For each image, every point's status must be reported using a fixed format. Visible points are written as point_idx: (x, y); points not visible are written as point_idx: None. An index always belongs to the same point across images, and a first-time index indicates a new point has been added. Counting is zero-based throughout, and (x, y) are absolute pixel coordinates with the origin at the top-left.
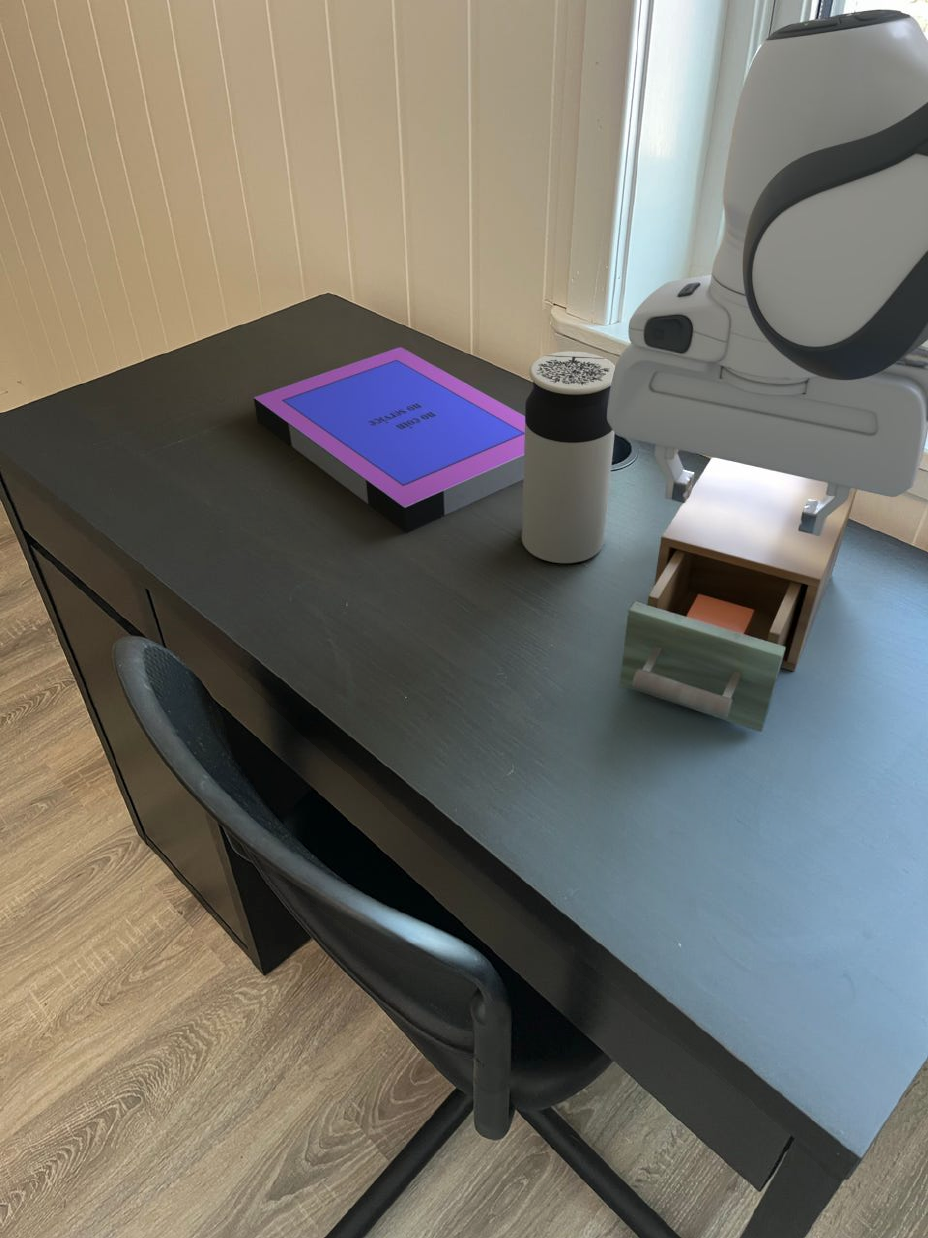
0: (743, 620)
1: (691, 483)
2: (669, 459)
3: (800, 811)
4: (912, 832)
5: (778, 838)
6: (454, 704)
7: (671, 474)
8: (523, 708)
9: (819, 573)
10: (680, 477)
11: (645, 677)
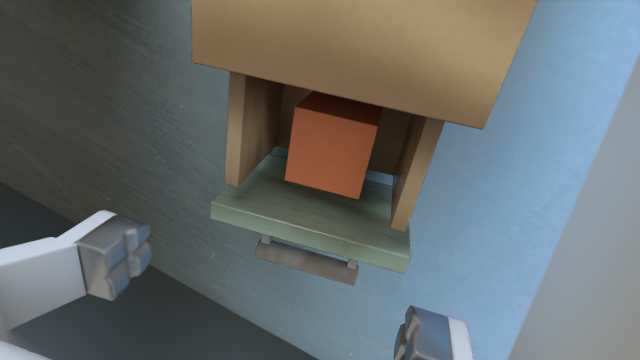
0: (362, 153)
1: (125, 252)
2: (11, 312)
3: (437, 264)
4: (538, 274)
5: (416, 288)
6: (144, 199)
7: (60, 303)
8: (194, 194)
9: (484, 109)
10: (87, 278)
11: (266, 259)
